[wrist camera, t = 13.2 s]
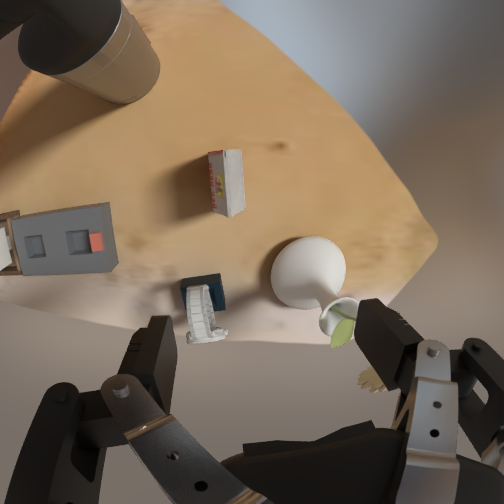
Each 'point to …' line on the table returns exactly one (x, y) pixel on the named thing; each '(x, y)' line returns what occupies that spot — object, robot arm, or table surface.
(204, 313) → the watch
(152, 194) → the table surface
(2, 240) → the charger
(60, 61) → the robot arm
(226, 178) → the tea box
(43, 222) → the power strip
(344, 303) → the flower in vase
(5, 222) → the tray
